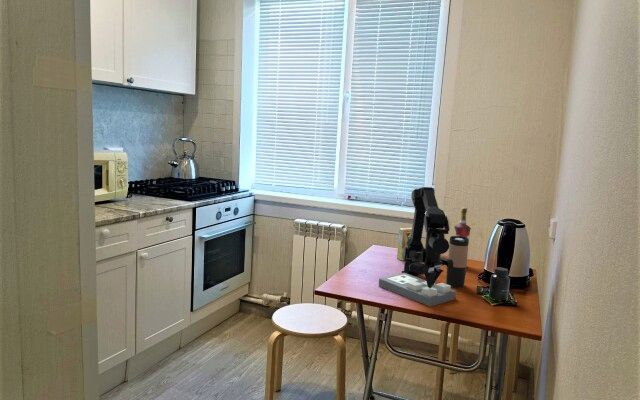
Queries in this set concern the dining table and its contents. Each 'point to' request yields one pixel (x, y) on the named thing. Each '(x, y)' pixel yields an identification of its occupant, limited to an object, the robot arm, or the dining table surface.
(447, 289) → the button
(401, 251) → the candy box
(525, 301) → the dining table surface
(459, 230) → the liquor
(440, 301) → the button board
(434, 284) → the button
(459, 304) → the dining table surface
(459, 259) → the travel mug
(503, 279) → the supplement bottle
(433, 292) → the button
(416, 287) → the button
